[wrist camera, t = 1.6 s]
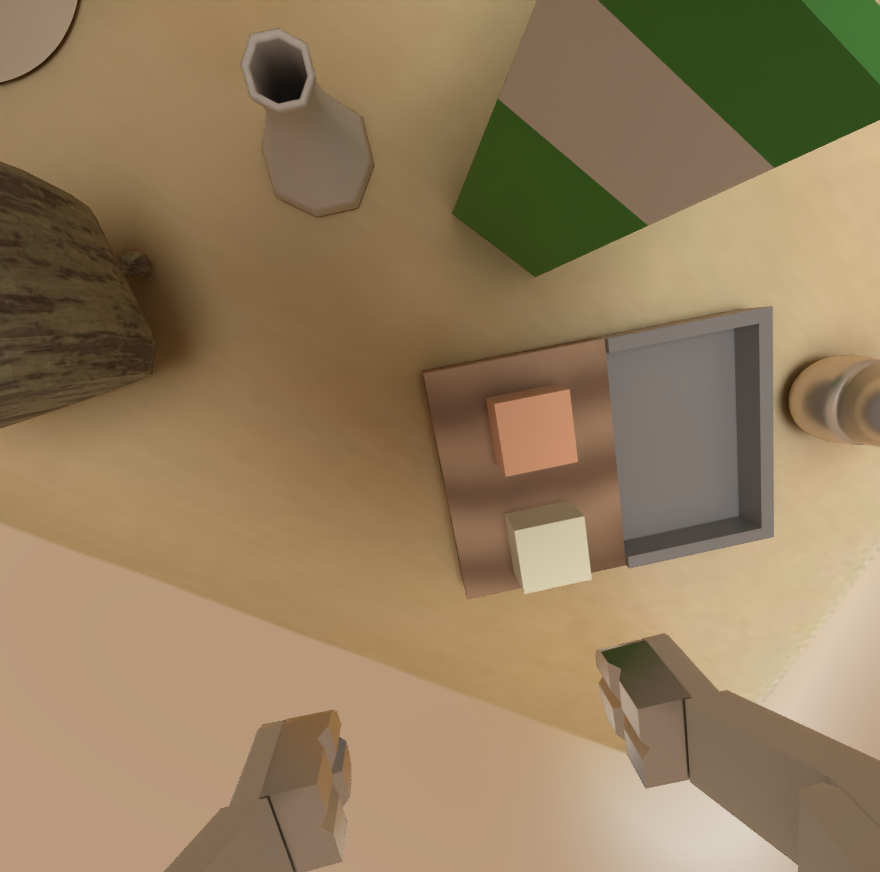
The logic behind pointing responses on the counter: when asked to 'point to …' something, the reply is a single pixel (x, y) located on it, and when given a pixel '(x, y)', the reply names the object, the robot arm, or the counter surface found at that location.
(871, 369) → the plastic bottle
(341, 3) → the counter surface
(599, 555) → the walnut board
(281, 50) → the flask
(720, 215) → the counter surface
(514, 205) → the hardback book
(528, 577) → the cream block
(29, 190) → the tabletop clock
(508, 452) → the orange square block
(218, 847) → the robot arm
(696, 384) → the tray
